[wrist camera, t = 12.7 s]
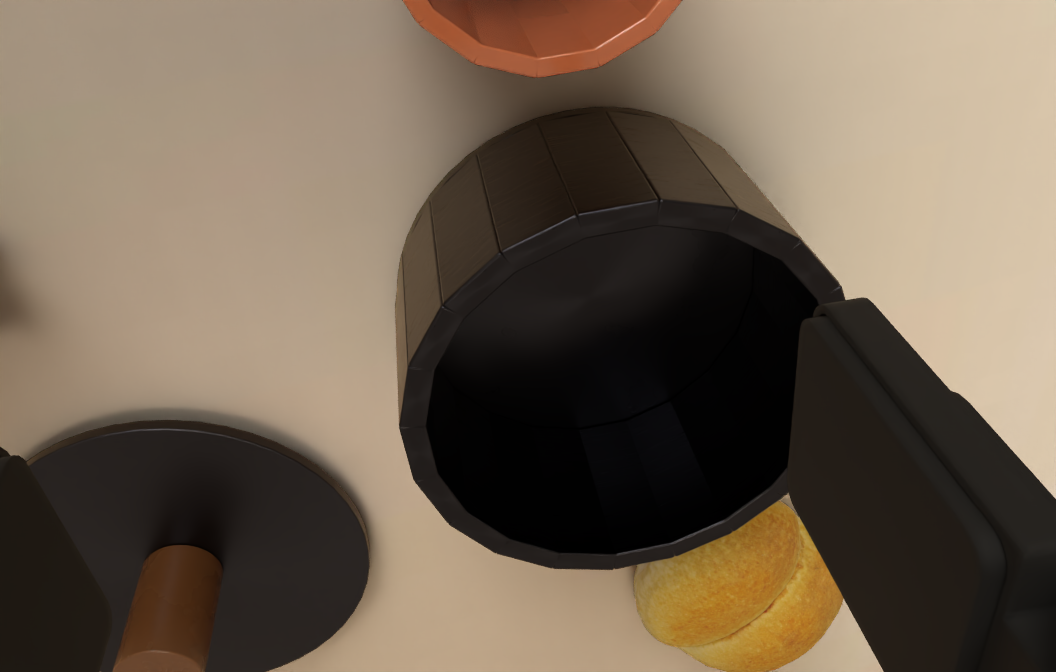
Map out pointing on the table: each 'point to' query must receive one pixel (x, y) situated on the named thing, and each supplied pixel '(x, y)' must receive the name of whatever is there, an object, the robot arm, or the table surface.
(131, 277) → the table surface
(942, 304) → the table surface
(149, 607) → the pan lid
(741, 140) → the table surface
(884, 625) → the robot arm
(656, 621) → the bread roll
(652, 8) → the container
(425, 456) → the pan
